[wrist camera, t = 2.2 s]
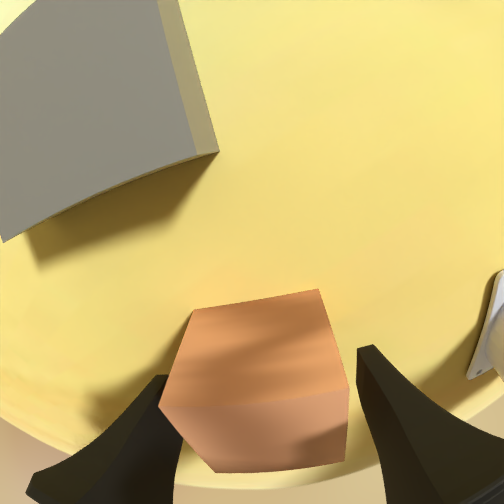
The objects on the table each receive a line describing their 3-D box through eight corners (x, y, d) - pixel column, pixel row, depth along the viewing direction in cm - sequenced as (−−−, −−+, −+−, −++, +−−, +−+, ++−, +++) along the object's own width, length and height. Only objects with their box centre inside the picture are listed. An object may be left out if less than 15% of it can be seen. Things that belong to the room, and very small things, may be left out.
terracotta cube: (317, 287, 10) (349, 387, 6) (326, 373, 12) (344, 460, 7) (194, 308, 11) (158, 405, 6) (227, 387, 13) (215, 472, 8)
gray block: (173, -21, 6) (142, -65, 3) (221, 150, 9) (197, 155, 6) (26, 67, 7) (-24, 62, 4) (56, 215, 10) (3, 243, 7)
